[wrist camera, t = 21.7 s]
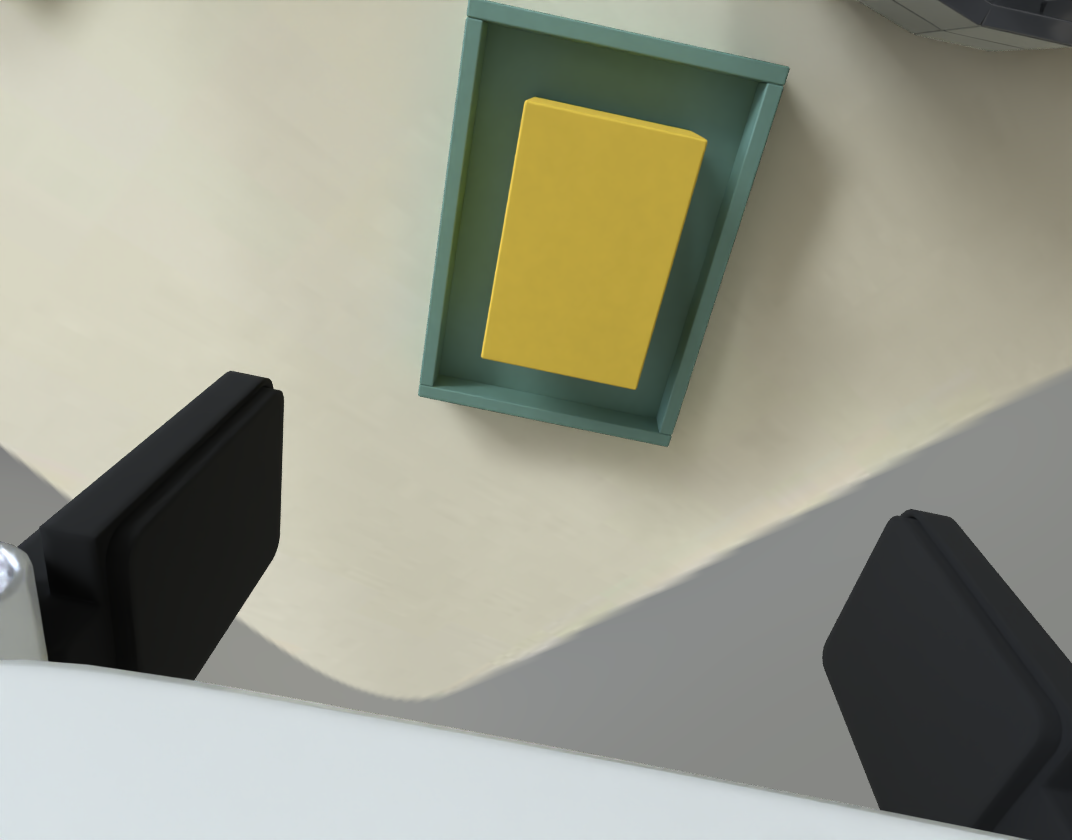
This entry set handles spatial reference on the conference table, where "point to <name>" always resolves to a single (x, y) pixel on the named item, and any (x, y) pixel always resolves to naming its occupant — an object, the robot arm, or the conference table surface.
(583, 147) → the sponge
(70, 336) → the conference table surface
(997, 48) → the bowl
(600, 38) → the tray
